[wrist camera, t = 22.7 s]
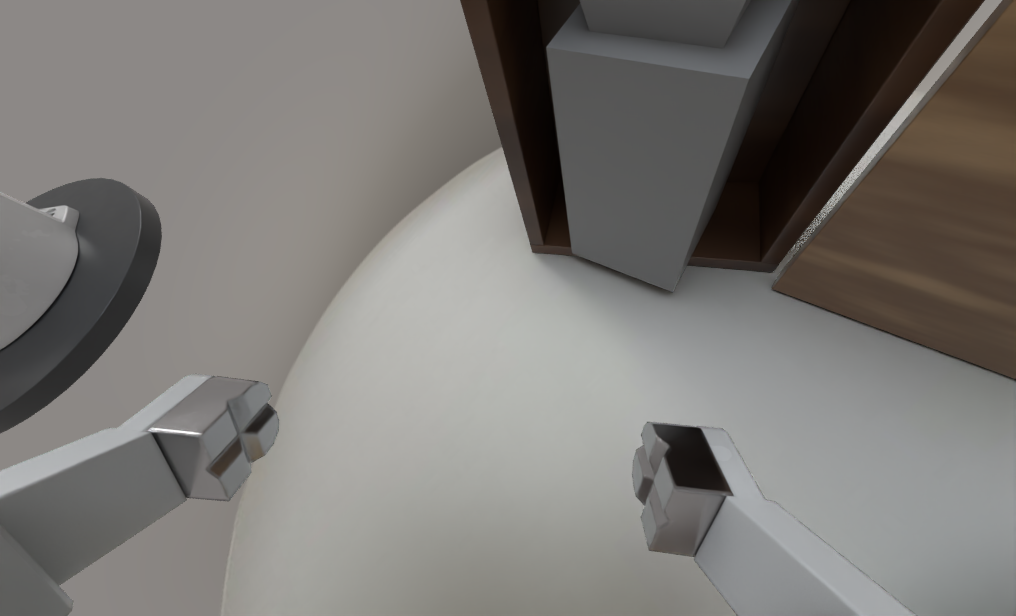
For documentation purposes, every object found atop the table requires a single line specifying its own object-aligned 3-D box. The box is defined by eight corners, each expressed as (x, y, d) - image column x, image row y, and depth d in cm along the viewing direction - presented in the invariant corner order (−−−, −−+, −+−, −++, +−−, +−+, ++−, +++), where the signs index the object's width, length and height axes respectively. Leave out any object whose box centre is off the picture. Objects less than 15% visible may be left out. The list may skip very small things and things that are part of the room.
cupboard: (772, 272, 23) (1963, -1246, 3) (532, 252, 28) (339, -415, 7) (770, 182, 26) (1388, -950, 6) (550, 177, 30) (446, -469, 10)
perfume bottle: (672, 292, 23) (831, -152, 7) (572, 253, 26) (523, -134, 10) (715, 208, 25) (919, -299, 9) (617, 179, 27) (638, -250, 12)
